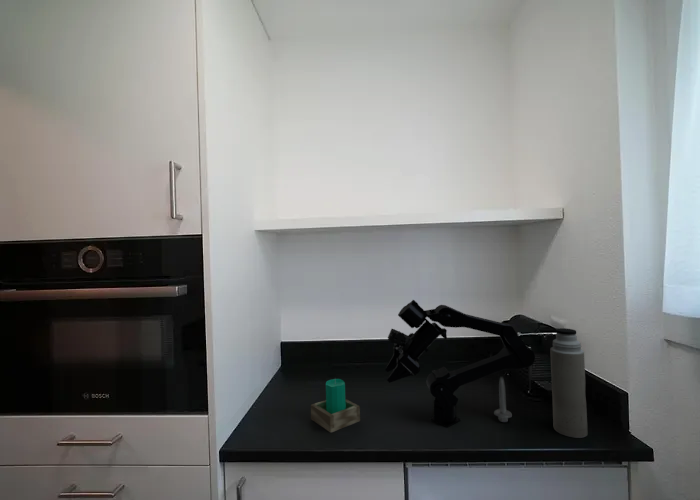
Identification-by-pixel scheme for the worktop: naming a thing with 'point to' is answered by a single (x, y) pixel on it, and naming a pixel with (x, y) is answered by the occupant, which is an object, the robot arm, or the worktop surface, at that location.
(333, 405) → the candle
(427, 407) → the worktop surface
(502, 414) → the screw
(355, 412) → the candle holder
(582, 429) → the thermos bottle
